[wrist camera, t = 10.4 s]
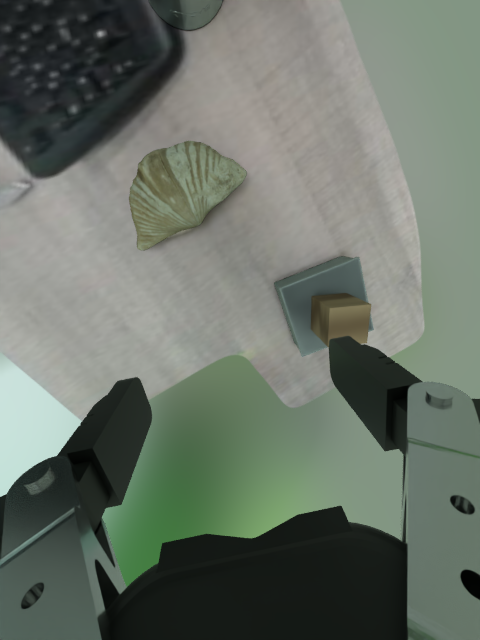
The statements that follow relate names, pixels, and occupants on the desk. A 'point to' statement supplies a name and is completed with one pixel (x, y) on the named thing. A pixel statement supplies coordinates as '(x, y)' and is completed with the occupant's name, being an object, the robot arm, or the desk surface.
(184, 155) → the seashell
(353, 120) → the desk surface
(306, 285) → the grey-green square slab
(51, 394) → the desk surface
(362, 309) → the brass block
